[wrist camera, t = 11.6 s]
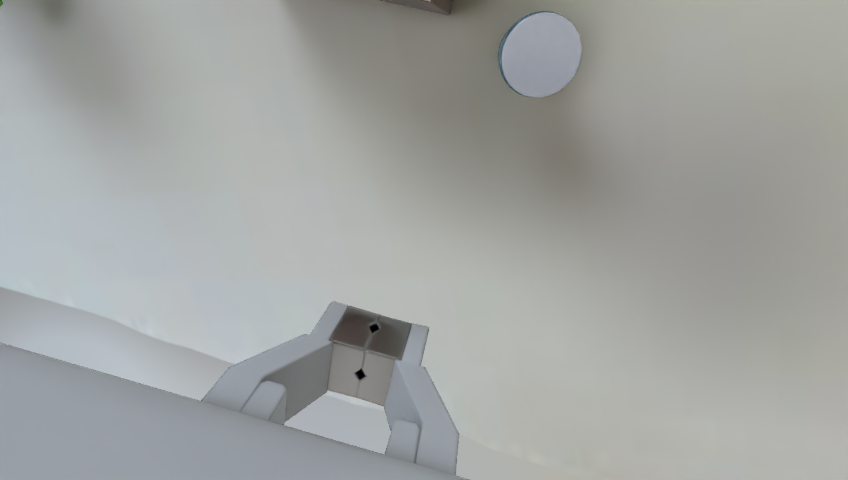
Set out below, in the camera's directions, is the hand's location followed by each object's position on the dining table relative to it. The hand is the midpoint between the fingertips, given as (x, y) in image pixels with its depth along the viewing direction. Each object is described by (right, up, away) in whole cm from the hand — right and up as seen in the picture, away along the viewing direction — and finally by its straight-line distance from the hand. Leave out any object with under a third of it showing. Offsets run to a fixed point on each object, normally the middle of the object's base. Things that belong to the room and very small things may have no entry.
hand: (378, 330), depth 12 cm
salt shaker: (+8, +15, +15) cm, 23 cm away
